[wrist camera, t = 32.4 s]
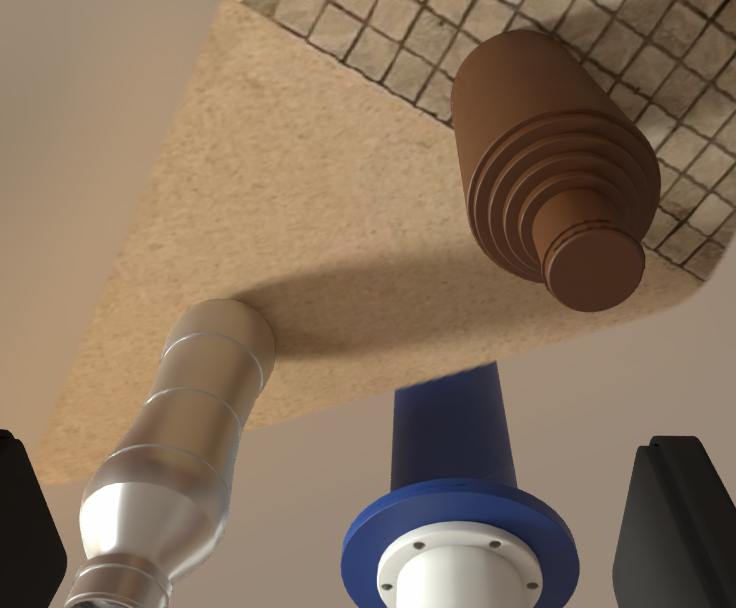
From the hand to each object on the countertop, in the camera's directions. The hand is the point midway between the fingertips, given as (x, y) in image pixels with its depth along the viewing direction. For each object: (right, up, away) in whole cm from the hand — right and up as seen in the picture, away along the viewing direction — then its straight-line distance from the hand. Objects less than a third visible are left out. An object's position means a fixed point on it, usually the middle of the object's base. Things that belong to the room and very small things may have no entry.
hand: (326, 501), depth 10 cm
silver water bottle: (-8, +2, +32) cm, 33 cm away
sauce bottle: (+8, +13, +23) cm, 28 cm away
